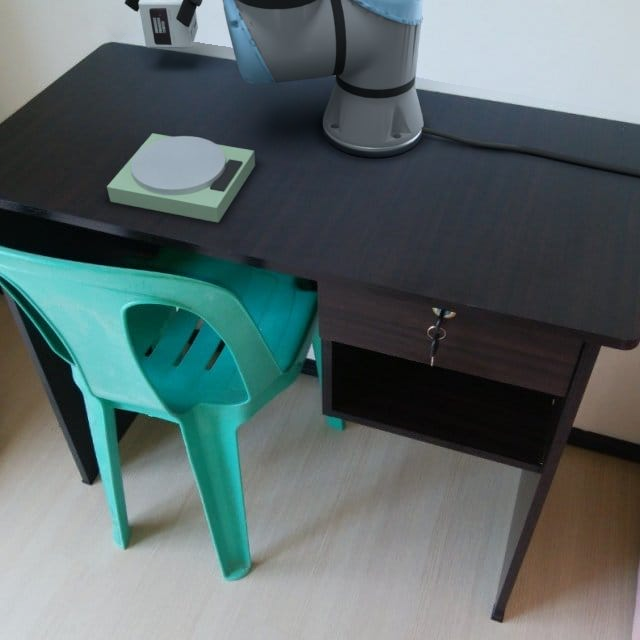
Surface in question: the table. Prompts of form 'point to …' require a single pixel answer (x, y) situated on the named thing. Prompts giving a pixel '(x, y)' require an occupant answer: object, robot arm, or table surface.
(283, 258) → the table surface
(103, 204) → the table surface
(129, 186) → the scale
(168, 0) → the container
